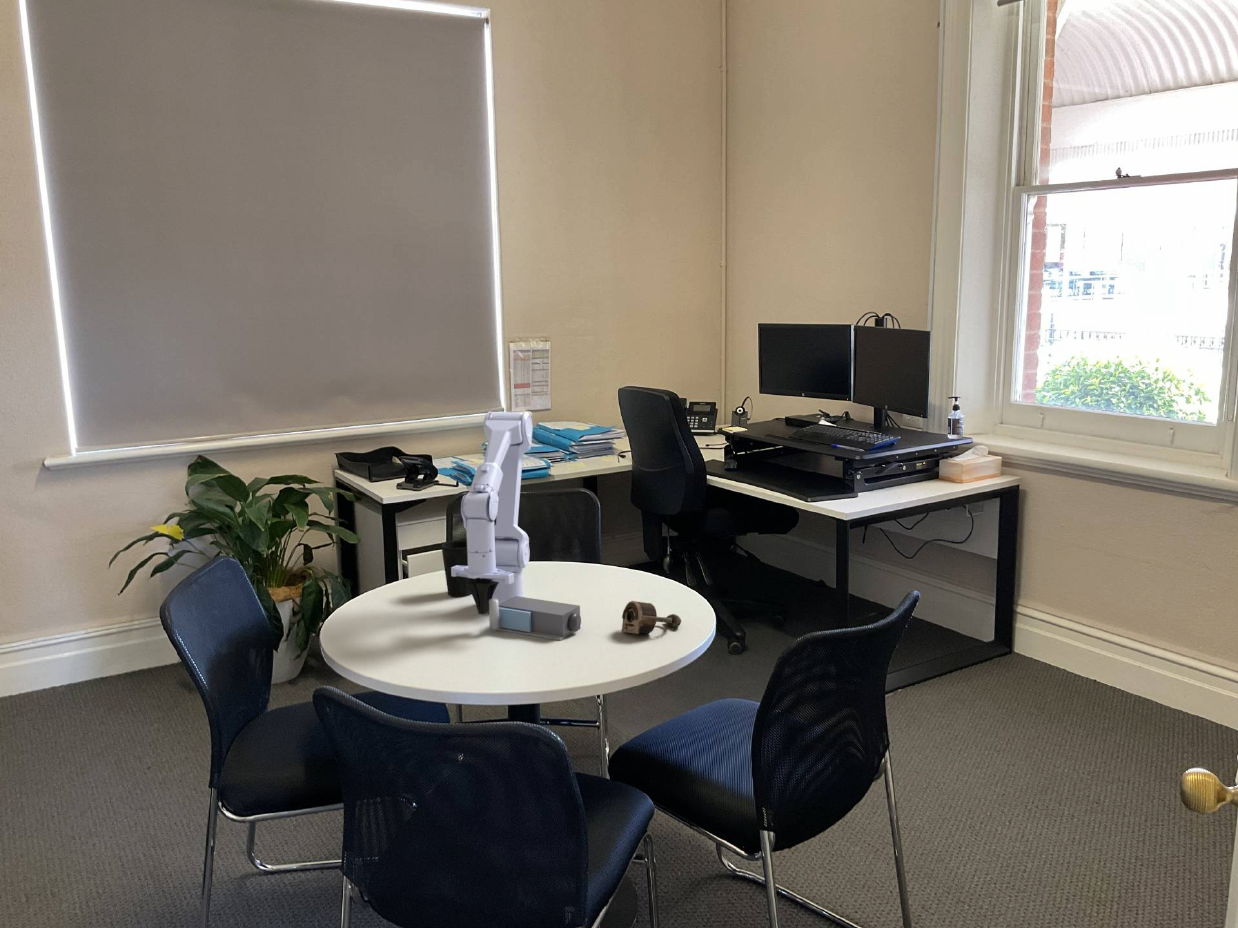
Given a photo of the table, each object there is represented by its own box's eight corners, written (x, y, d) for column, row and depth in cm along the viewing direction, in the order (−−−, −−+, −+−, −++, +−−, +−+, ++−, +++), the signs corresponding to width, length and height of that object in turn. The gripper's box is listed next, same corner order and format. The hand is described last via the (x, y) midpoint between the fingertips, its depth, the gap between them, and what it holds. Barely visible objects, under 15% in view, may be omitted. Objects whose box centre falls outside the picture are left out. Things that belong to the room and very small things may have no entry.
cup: (483, 591, 234) (481, 542, 232) (461, 600, 228) (459, 550, 226) (458, 587, 238) (456, 538, 236) (436, 595, 232) (434, 545, 230)
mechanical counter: (615, 600, 209) (621, 604, 199) (674, 591, 211) (683, 594, 201) (620, 634, 209) (626, 640, 199) (678, 624, 210) (688, 630, 201)
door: (488, 629, 205) (486, 600, 204) (496, 625, 208) (495, 596, 207) (522, 635, 201) (521, 606, 200) (531, 631, 204) (530, 601, 203)
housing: (495, 629, 208) (494, 606, 207) (516, 618, 215) (515, 595, 214) (565, 641, 200) (565, 617, 199) (585, 629, 207) (584, 606, 206)
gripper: (441, 550, 204) (444, 613, 206) (499, 558, 197) (501, 623, 200) (461, 542, 210) (464, 604, 212) (518, 549, 203) (521, 613, 206)
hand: (483, 612), depth 206 cm, fingers closed
